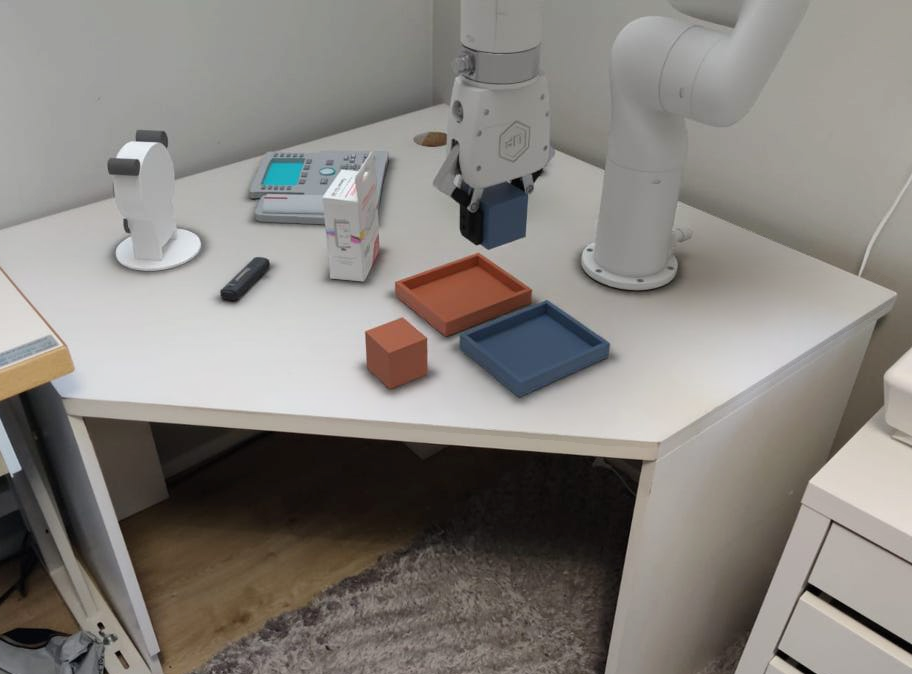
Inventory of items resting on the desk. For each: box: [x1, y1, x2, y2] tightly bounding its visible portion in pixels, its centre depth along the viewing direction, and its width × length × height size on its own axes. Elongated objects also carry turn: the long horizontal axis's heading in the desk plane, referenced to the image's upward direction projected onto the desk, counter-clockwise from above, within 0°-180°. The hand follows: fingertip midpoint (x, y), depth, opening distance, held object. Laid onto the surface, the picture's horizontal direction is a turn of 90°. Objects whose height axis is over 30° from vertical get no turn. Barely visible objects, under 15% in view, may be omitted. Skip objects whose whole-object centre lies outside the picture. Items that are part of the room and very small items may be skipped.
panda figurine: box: [106, 129, 202, 272], centre depth 118 cm, size 12×11×15 cm
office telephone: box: [249, 150, 390, 225], centre depth 136 cm, size 23×3×20 cm
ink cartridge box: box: [322, 152, 381, 282], centre depth 114 cm, size 9×5×15 cm, turn 168°
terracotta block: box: [364, 316, 428, 390], centre depth 99 cm, size 5×5×5 cm
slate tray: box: [459, 299, 611, 398], centre depth 103 cm, size 13×11×2 cm
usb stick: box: [220, 256, 271, 301], centre depth 115 cm, size 10×3×2 cm, turn 160°
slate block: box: [468, 181, 529, 251], centre depth 94 cm, size 5×5×5 cm
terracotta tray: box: [394, 252, 533, 337], centre depth 112 cm, size 13×11×2 cm
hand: (493, 230), depth 95 cm, fingers closed on slate block, 5 cm apart
